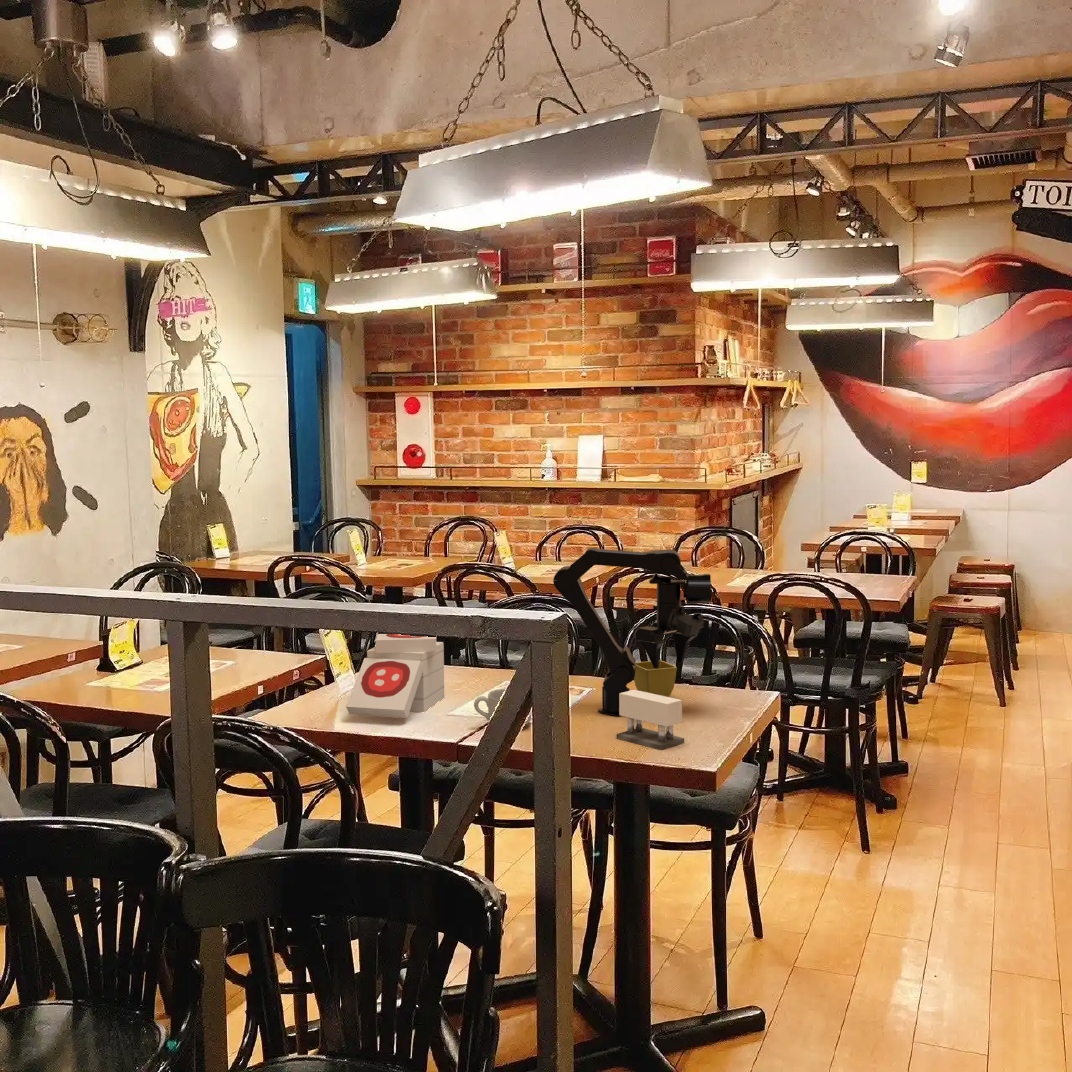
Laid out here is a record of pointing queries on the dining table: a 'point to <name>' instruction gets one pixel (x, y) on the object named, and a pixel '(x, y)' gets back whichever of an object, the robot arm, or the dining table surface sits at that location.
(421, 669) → the stacked boxes
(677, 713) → the block
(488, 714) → the teacup
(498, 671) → the dining table surface
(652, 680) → the flower pot
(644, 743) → the peg stand
